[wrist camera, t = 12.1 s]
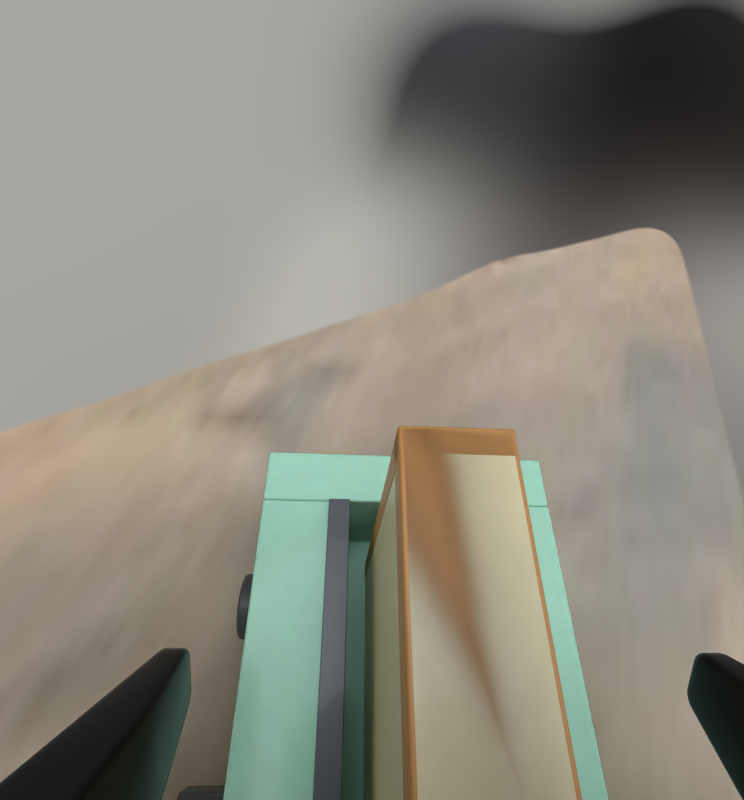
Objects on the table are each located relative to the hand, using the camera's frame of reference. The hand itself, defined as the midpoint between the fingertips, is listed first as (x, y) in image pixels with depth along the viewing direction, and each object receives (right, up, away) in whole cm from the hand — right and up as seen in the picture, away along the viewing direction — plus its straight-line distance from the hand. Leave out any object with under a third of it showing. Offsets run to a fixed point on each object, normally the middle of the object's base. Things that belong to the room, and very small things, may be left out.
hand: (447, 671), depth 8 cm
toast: (-1, -4, +7) cm, 8 cm away
